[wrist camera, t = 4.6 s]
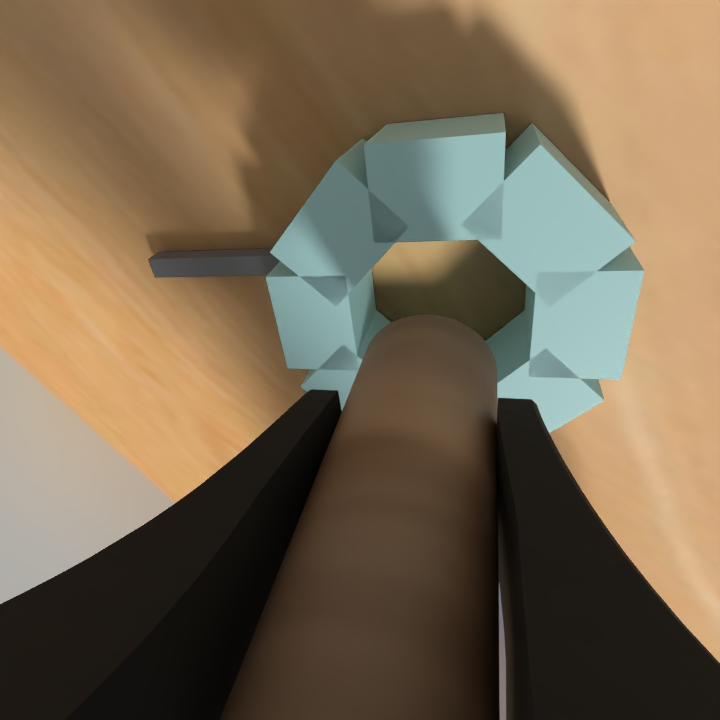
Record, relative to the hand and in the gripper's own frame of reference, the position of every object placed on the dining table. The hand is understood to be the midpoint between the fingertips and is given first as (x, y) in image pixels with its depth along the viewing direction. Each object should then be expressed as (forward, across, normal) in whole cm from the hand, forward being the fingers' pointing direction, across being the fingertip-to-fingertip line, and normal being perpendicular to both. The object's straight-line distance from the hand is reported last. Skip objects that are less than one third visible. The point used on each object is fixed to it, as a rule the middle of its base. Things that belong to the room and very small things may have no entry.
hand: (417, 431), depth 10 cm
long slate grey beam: (+7, +8, -1) cm, 11 cm away
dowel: (+2, 0, 0) cm, 2 cm away
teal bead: (+7, 0, 0) cm, 7 cm away
